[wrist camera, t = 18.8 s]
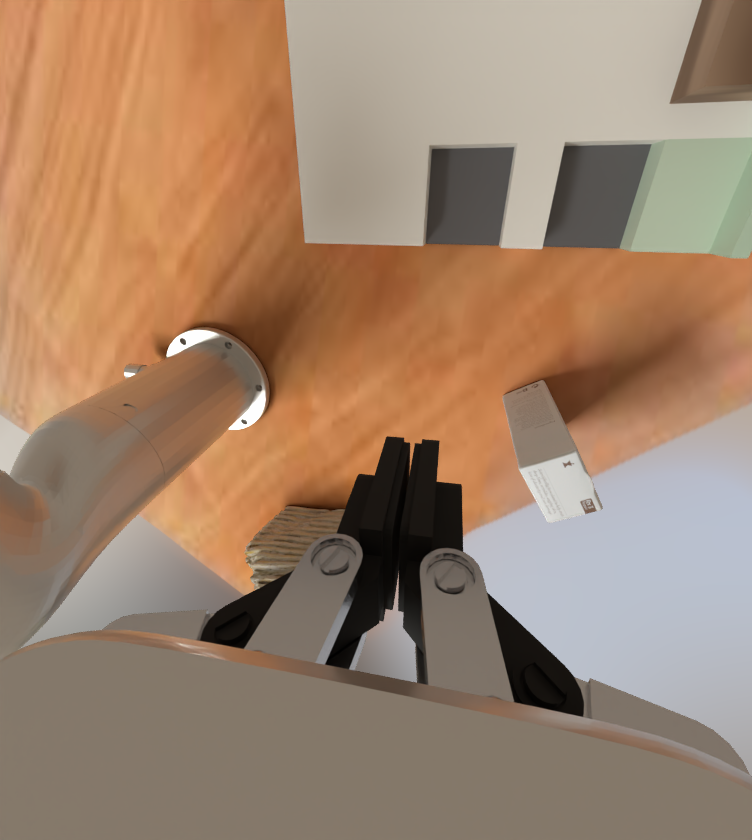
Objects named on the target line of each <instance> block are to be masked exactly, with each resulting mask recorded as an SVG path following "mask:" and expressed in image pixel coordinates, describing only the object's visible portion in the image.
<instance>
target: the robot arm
mask: <svg viewBox="0 0 752 840" xmlns="http://www.w3.org/2000/svg"><path fill="white" fill-rule="evenodd" d="M124 375H125V377H126V378H127V379H125V380H123V381H121V382H119V383H117V384H115V385H113V386H111V387H109V388H107V389H105V390H103V391H101V392H99V393H97V394H95V395H93V396H91V397H89V398H87V399H85V400H83V401H81V402H80V403H78V404H76V405H74V406H72V407H70V408H68V409H66V410H64V411H62V412H60V413H58V414H56V415H54V416H53V417H51V418H50V419H48V420H47V421H45V422H44V423H43V424H42V425H40V426H39V427H38V428H37V429H36V430H35V431H34V432H33V434H32V435H31V436H30V437H29V439H28V440H27V441H26V443H25V444H24V446H23V448H22V449H21V451H20V453H19V455H18V457H17V459H16V461H15V463H14V466H13V468H12V470H11V473H10V475H8V474H7V473H6V472H5V471H1V470H0V840H752V776H751V775H750V774H749V772H748V770H747V768H746V766H745V764H744V762H743V760H742V759H741V758H740V757H739V755H738V754H737V753H736V752H735V750H734V749H733V748H732V747H731V745H730V744H729V743H728V742H727V741H725V740H724V739H723V738H722V737H721V736H720V735H718V734H717V733H716V732H715V731H714V730H712V729H710V728H708V727H707V726H705V725H703V724H701V723H699V722H698V721H695V720H693V719H690V718H688V717H685V716H683V715H680V714H678V713H675V712H673V711H670V710H668V709H665V708H663V707H660V706H658V705H655V704H653V703H650V702H648V701H645V700H643V699H640V698H638V697H636V696H633V695H631V694H628V693H626V692H623V691H621V690H618V689H615V688H613V687H611V686H608V685H605V684H603V683H600V682H598V681H596V680H593V679H590V680H589V682H585V681H583V680H580V679H578V678H575V677H574V676H573V675H572V674H571V672H570V671H569V670H568V669H567V668H566V667H565V665H563V664H562V663H561V662H560V661H559V660H558V659H557V658H556V657H555V656H554V655H553V654H552V653H551V652H550V651H549V650H547V648H546V647H544V646H543V645H542V644H541V643H540V642H539V641H538V640H537V639H536V638H535V637H534V636H533V635H532V634H531V633H530V632H528V631H527V630H526V629H525V628H524V627H523V626H522V625H521V624H520V623H519V622H518V621H517V620H516V619H515V618H514V617H513V616H512V615H511V614H509V613H508V612H507V611H506V610H505V609H504V608H503V607H502V606H501V605H500V604H499V603H498V602H497V601H496V600H495V599H494V598H492V597H491V596H490V595H489V594H488V593H487V591H486V587H485V583H484V579H483V575H482V572H481V570H480V567H479V565H478V564H477V563H476V561H475V560H474V559H473V558H472V557H470V556H469V555H467V554H466V553H464V552H463V526H462V485H461V484H453V483H443V482H436V481H437V467H438V453H439V441H436V440H424V439H422V444H418V443H415V447H414V453H413V459H412V464H411V470H410V476H409V469H410V443H406V442H404V438H400V437H388V436H387V437H386V440H385V443H384V447H383V450H382V453H381V457H380V460H379V463H378V466H377V470H376V473H375V475H365V474H359V475H358V476H357V479H356V481H355V484H354V487H353V489H352V492H351V495H350V498H349V500H348V503H347V506H346V508H345V511H344V514H343V517H342V519H341V522H340V525H339V527H338V530H337V533H336V534H329V535H326V536H323V537H320V538H319V539H317V540H316V541H314V542H313V543H312V544H311V545H310V546H309V548H308V549H307V550H306V552H305V553H304V555H303V557H302V558H301V560H300V561H299V563H298V564H297V566H296V568H295V569H294V570H293V571H291V572H289V573H287V574H285V575H283V576H281V577H280V578H278V579H276V580H274V581H272V582H270V583H268V584H266V585H264V586H262V587H260V588H259V589H257V590H255V591H253V592H251V593H249V594H247V595H245V596H243V597H241V598H240V599H238V600H236V601H234V602H232V603H230V604H228V605H226V606H225V607H223V608H222V609H220V610H219V611H217V612H216V613H213V614H209V612H208V610H193V611H177V612H161V613H147V614H133V615H128V616H124V617H121V618H119V619H117V620H115V621H113V622H112V623H110V624H109V625H107V626H106V627H105V628H104V629H102V630H97V631H87V632H79V633H73V634H69V635H64V636H59V637H54V638H50V639H47V640H44V641H41V642H37V643H34V644H32V645H29V646H26V647H24V648H21V647H22V646H23V645H24V644H25V643H26V642H27V641H28V640H29V639H30V638H31V637H32V636H33V635H34V634H35V633H36V632H37V631H38V630H39V629H40V628H41V627H42V626H43V625H44V624H45V623H46V622H47V621H48V620H49V618H50V617H51V616H52V615H53V614H54V612H55V611H56V610H57V609H58V608H59V606H60V605H61V604H62V602H63V601H64V600H65V599H66V597H67V596H68V595H69V593H70V592H71V590H72V589H73V588H74V587H75V585H76V584H77V583H78V581H79V580H80V579H81V577H82V576H83V575H84V573H85V572H86V571H87V570H88V568H89V567H90V566H91V565H92V563H93V562H94V561H95V559H96V558H97V557H98V556H99V555H100V554H101V552H102V551H103V550H104V549H105V548H106V547H107V545H108V544H109V543H110V542H111V541H112V540H113V539H114V538H115V537H116V536H117V535H118V534H119V532H121V530H122V529H123V528H124V527H125V526H126V525H127V524H128V523H129V522H130V521H131V520H132V519H133V518H135V517H136V516H137V515H138V514H139V513H140V512H141V511H142V510H143V509H144V508H145V507H146V506H147V505H148V504H149V503H150V502H151V501H152V500H153V499H154V498H155V497H157V496H158V495H159V494H160V493H161V492H162V491H163V490H164V489H165V488H166V487H167V486H168V485H169V484H170V483H171V482H173V481H174V480H175V479H176V478H177V477H178V476H179V475H180V474H181V473H182V472H183V471H184V470H185V469H186V468H188V467H189V466H190V465H191V464H192V463H193V462H194V461H195V460H196V459H197V458H198V457H199V456H200V455H201V454H202V453H204V452H205V451H206V450H207V449H208V448H209V447H210V446H211V445H212V444H213V443H214V442H215V441H216V440H217V439H218V438H220V437H221V436H222V435H223V434H224V433H225V432H226V431H227V430H237V429H243V428H246V427H249V426H251V425H252V424H254V423H255V422H256V421H257V420H258V419H259V418H260V417H261V416H262V415H263V414H264V412H265V410H266V409H267V406H268V403H269V396H270V389H269V382H268V379H267V375H266V372H265V370H264V368H263V366H262V364H261V363H260V361H259V360H258V358H257V357H256V355H255V354H254V353H253V352H252V351H251V350H250V349H249V348H248V346H247V345H245V344H244V343H243V342H242V341H240V340H239V339H238V338H236V337H234V336H233V335H231V334H229V333H227V332H225V331H222V330H219V329H215V328H210V327H197V328H193V329H190V330H187V331H185V332H183V333H181V334H180V335H178V336H177V337H176V338H175V339H174V340H173V341H172V342H171V344H170V345H169V348H168V350H167V353H166V359H164V360H162V361H160V362H158V363H155V364H152V365H150V366H147V365H139V364H128V365H127V366H126V367H125V369H124ZM398 573H399V599H398V603H399V604H398V611H402V612H404V618H403V628H404V629H405V630H406V632H407V633H408V634H409V636H410V637H411V638H412V640H413V641H414V642H415V643H416V647H415V650H416V651H415V653H416V670H417V683H415V682H410V681H405V680H399V679H395V678H390V677H385V676H380V675H374V674H369V673H364V672H359V671H355V668H356V665H357V663H358V660H359V657H360V654H361V652H362V649H363V646H364V644H365V641H366V636H367V631H368V630H370V629H371V628H373V627H374V626H376V625H377V624H378V623H379V621H383V620H384V614H385V609H390V610H392V609H393V605H394V598H395V592H396V585H397V579H398ZM20 648H21V649H20ZM18 649H19V650H18Z"/></svg>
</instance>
